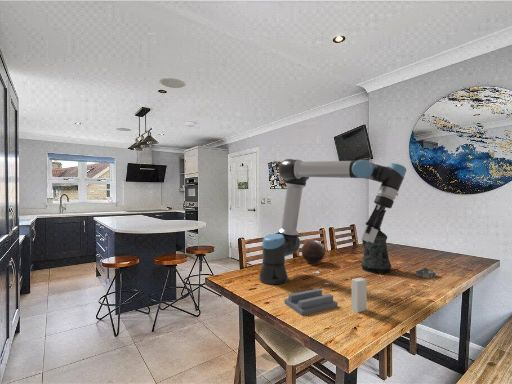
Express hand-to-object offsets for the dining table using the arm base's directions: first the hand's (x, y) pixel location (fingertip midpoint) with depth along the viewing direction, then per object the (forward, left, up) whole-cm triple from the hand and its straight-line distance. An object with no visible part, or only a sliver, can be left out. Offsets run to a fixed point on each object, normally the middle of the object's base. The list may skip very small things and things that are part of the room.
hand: (367, 241), depth 120 cm
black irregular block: (-9, +45, -25) cm, 52 cm away
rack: (-15, -25, -25) cm, 38 cm away
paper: (-30, +13, -25) cm, 41 cm away
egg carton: (+17, +51, -25) cm, 59 cm away
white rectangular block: (+2, -17, -25) cm, 30 cm away
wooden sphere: (-44, +35, -25) cm, 62 cm away
